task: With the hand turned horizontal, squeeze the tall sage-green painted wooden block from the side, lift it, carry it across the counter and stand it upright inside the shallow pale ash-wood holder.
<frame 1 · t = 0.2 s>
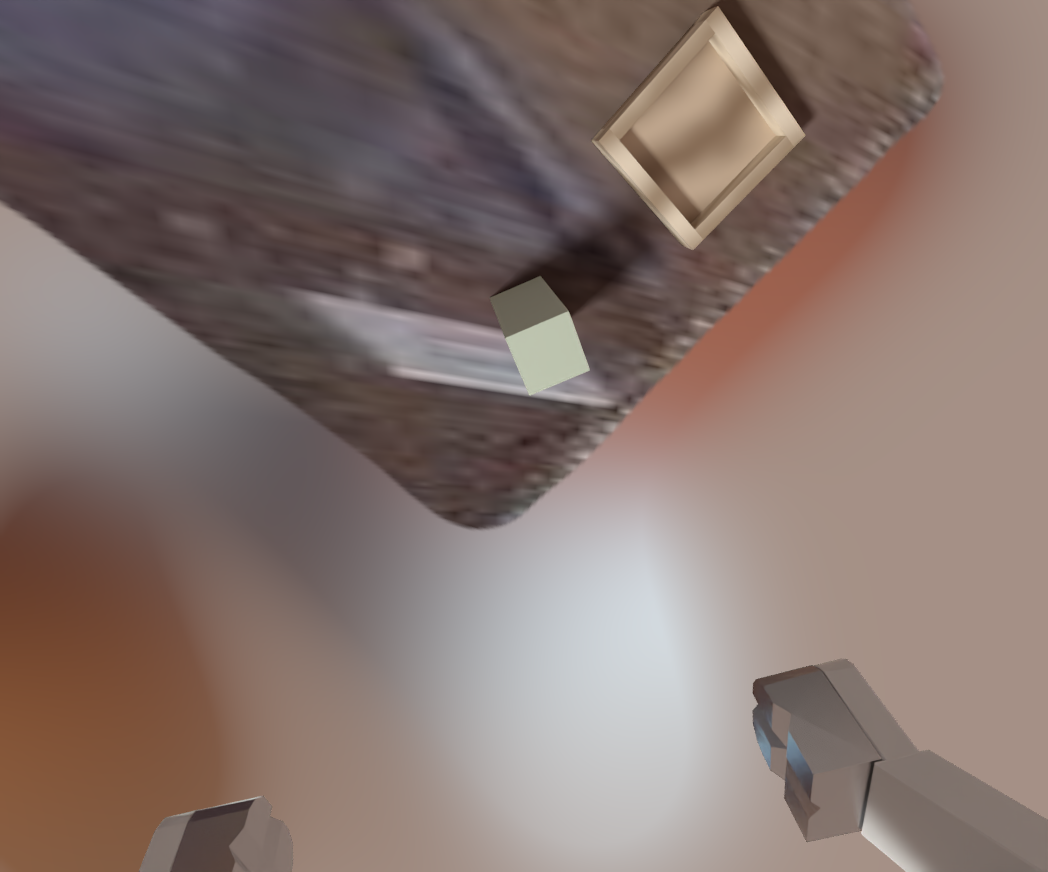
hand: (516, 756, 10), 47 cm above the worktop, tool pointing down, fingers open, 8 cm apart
ash wood holder: (692, 137, 51), on the worktop
sage block: (524, 311, 55), on the worktop
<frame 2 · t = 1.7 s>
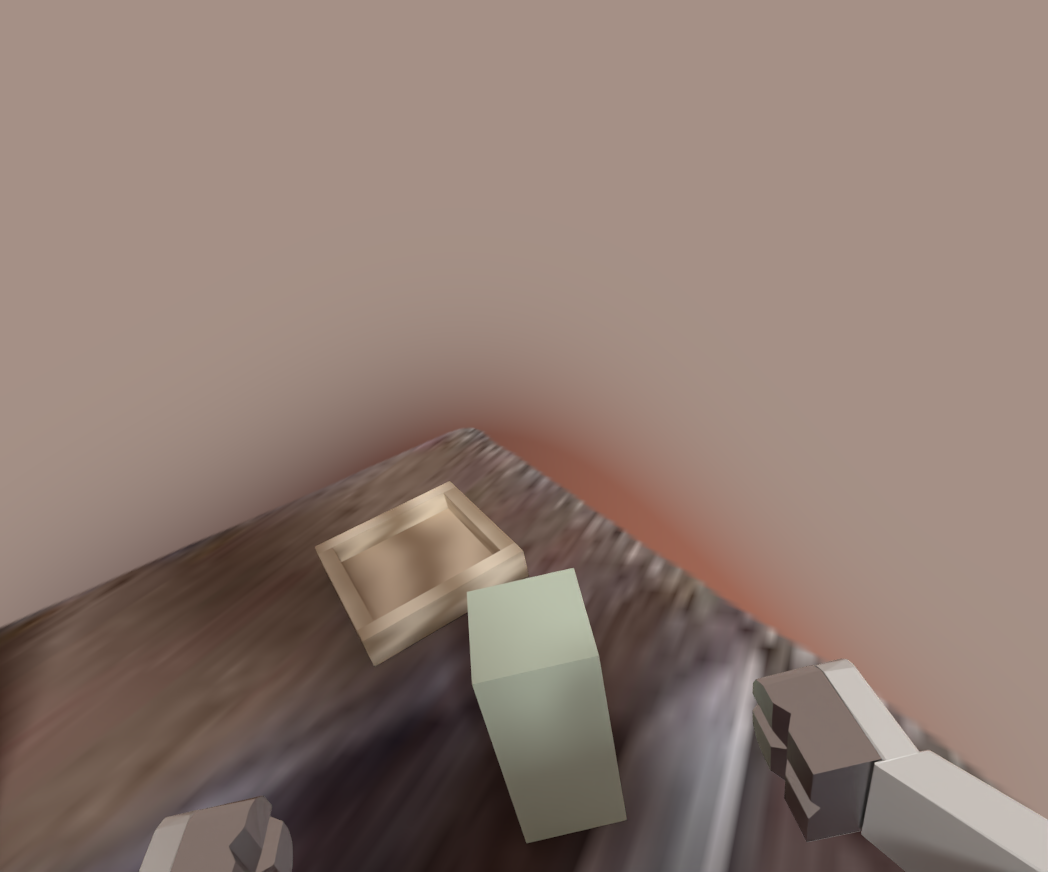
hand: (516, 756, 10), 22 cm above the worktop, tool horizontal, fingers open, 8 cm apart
ash wood holder: (421, 572, 47), on the worktop
sage block: (567, 781, 31), on the worktop
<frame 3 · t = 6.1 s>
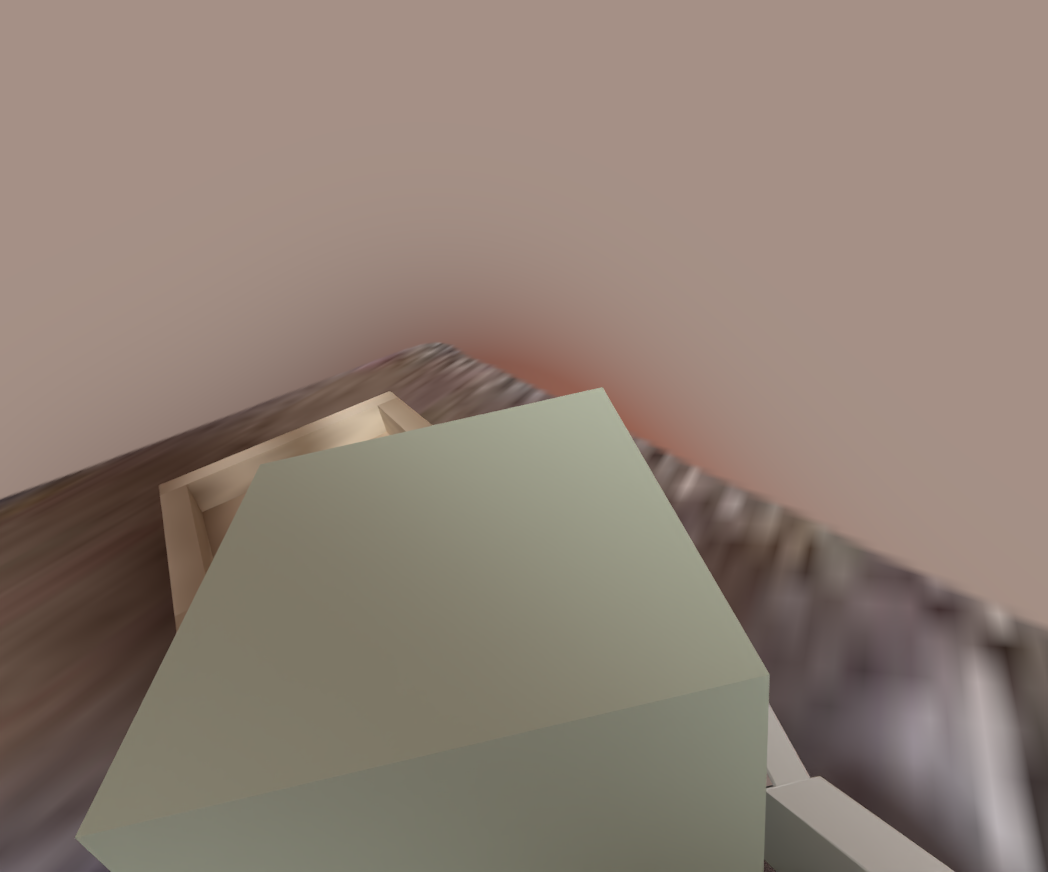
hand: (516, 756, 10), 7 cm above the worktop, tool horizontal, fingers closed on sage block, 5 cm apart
ash wood holder: (330, 524, 28), on the worktop
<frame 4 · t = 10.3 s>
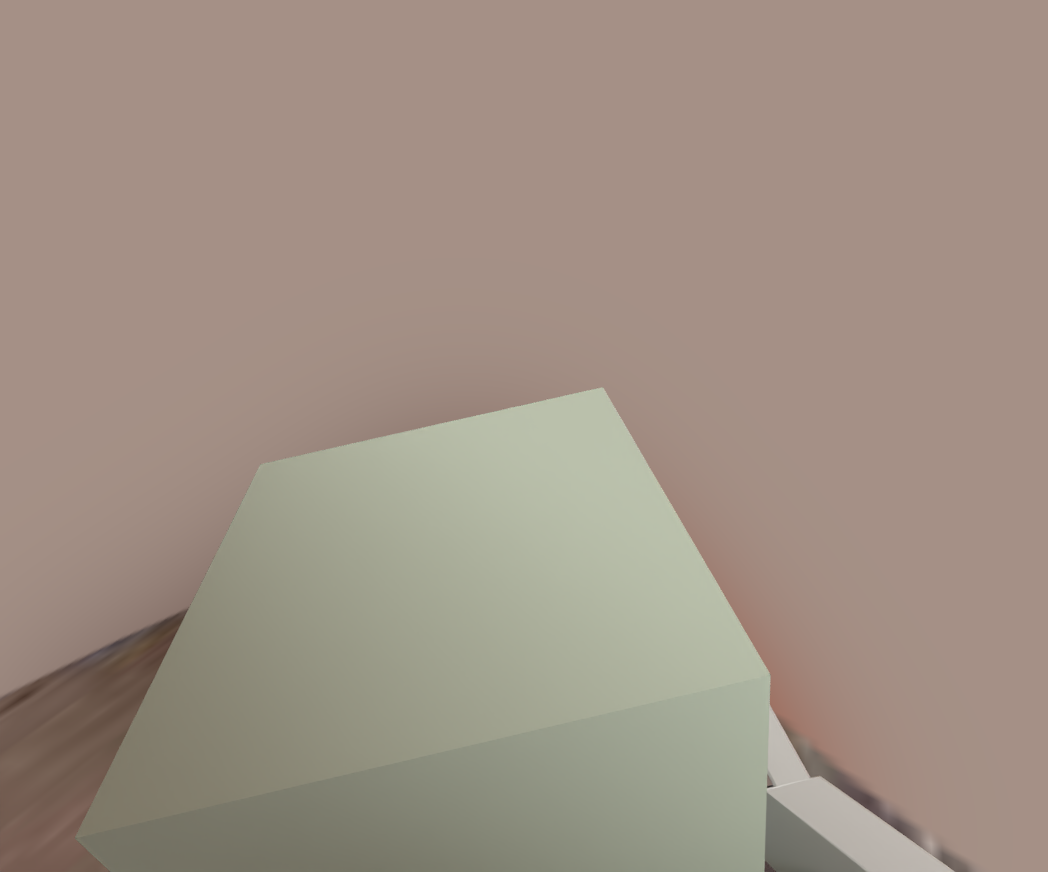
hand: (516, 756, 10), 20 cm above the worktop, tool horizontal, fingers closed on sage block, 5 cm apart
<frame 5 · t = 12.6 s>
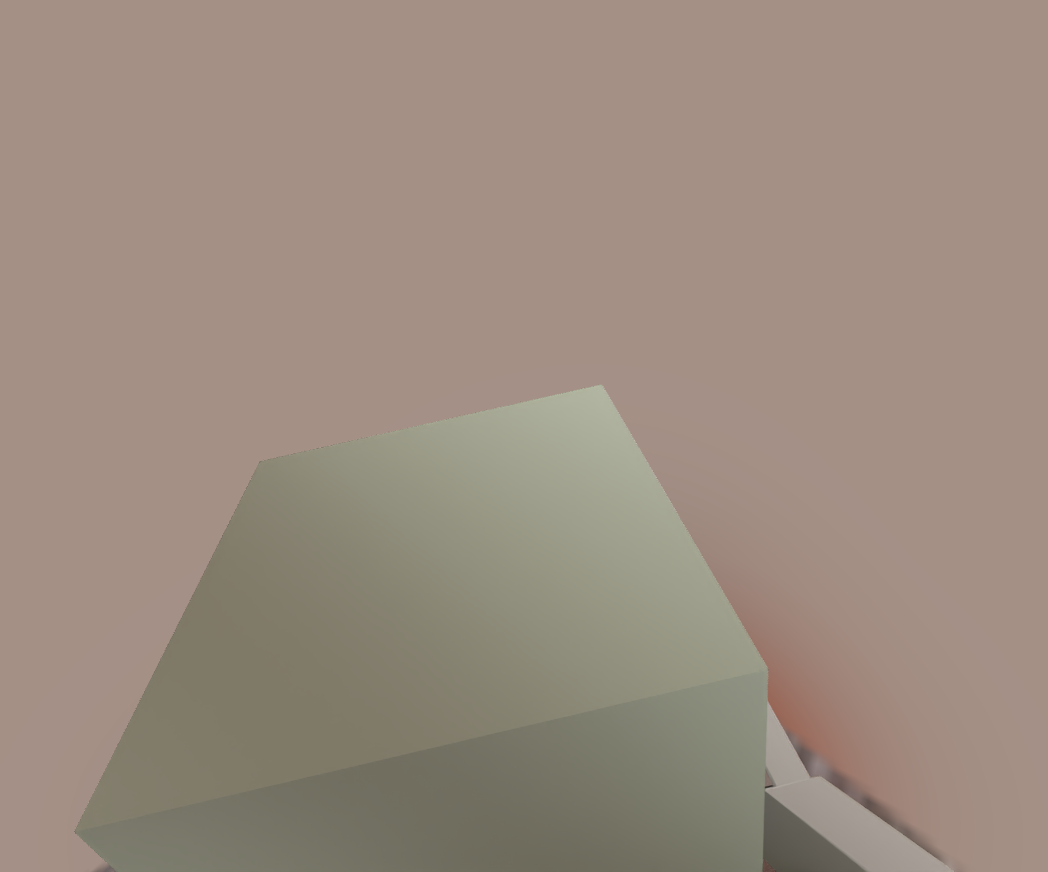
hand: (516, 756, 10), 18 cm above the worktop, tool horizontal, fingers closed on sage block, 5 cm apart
when the fingers open (9 cm above the worktop, at t = 14.5 s): sage block drops 1 cm, resting on ash wood holder.
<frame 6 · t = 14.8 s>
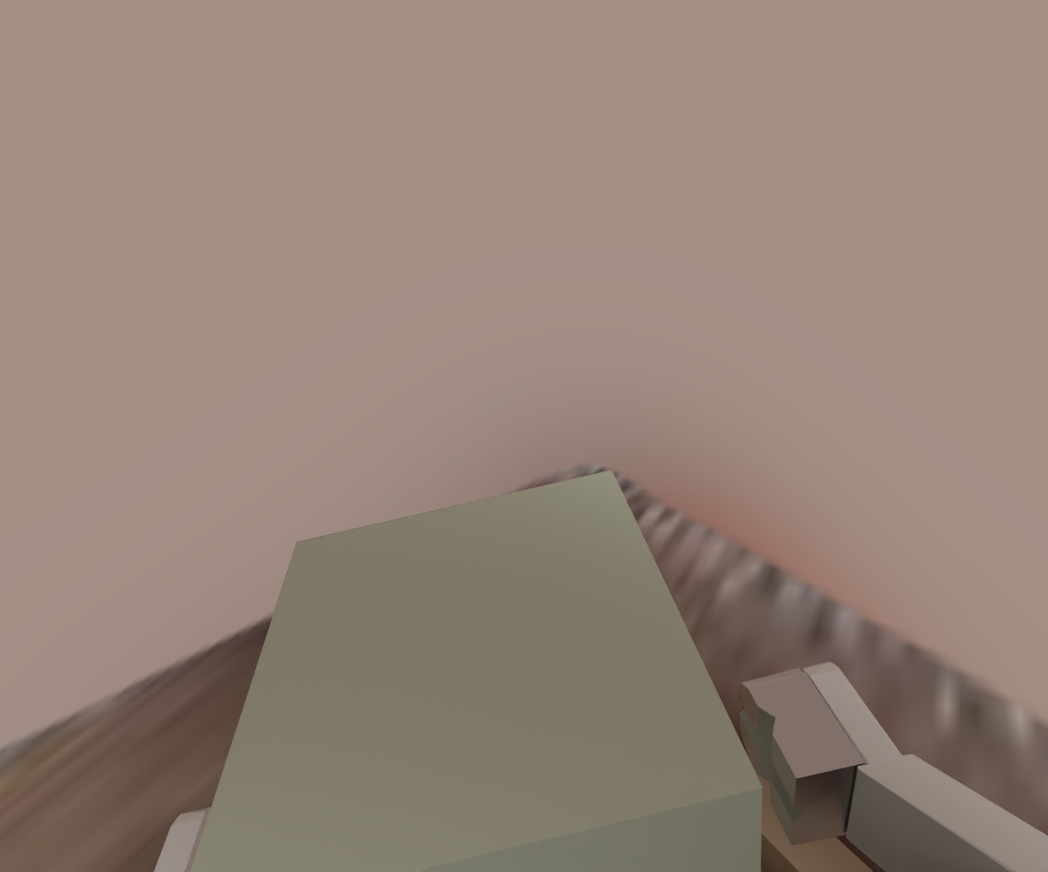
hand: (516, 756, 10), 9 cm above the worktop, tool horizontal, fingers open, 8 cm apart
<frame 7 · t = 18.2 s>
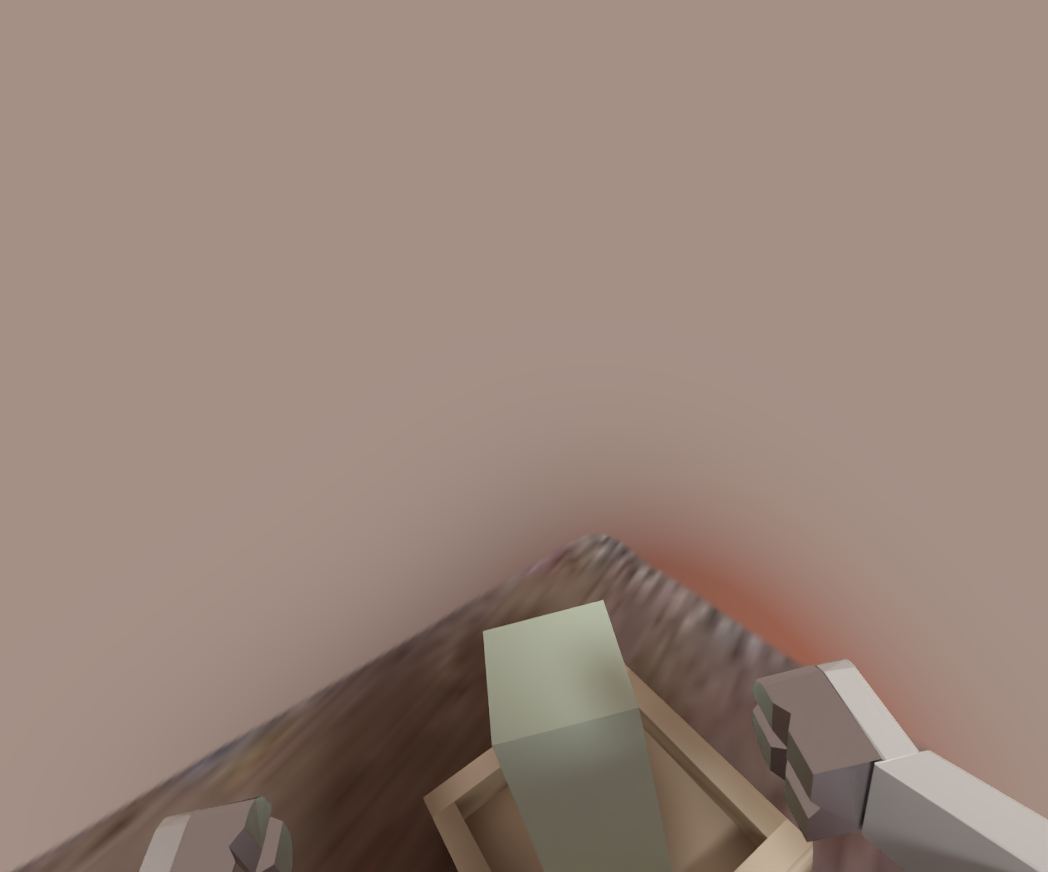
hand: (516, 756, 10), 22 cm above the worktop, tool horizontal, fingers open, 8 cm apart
ash wood holder: (607, 846, 28), on the worktop
sage block: (604, 837, 28), point 1 cm above the worktop, touching ash wood holder
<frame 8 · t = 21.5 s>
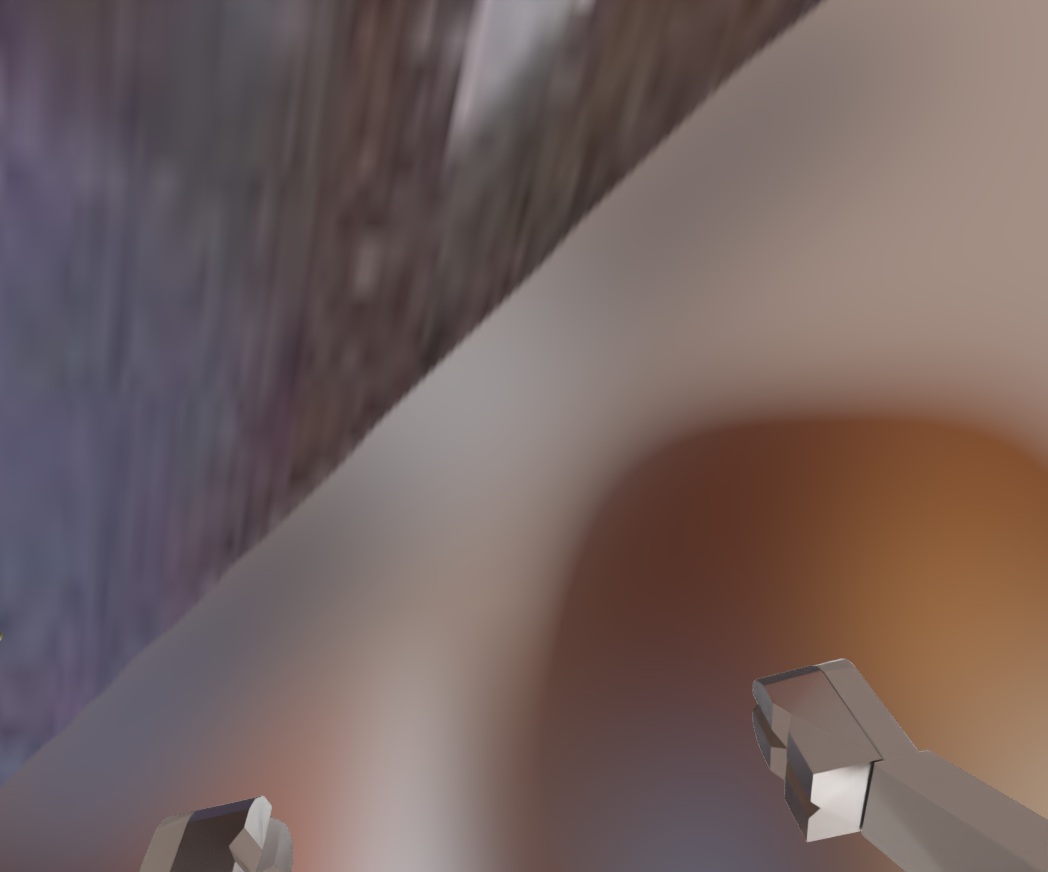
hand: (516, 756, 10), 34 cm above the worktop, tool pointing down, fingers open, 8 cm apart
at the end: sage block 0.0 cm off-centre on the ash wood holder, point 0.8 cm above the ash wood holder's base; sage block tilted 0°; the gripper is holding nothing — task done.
